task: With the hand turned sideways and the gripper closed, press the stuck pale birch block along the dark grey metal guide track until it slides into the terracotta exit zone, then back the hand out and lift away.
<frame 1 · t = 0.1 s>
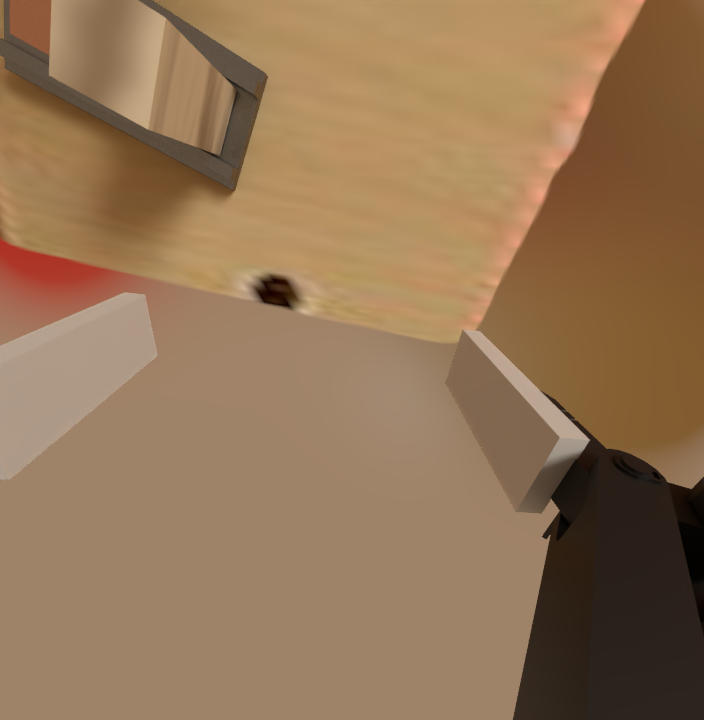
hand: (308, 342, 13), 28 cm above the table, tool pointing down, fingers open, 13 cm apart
guide track: (142, 74, 30), on the table
birch block: (163, 84, 24), point 8 cm above the table, slide at 0.0 cm
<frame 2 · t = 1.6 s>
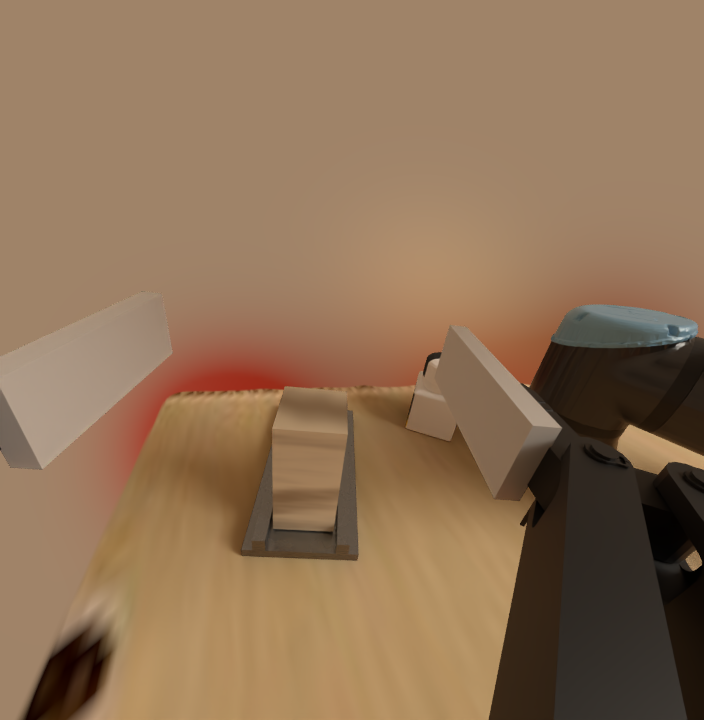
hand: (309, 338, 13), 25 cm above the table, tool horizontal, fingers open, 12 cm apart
medicine bottle: (428, 423, 50), on the table
guide track: (311, 467, 38), on the table
birch block: (309, 460, 30), point 8 cm above the table, slide at 0.0 cm
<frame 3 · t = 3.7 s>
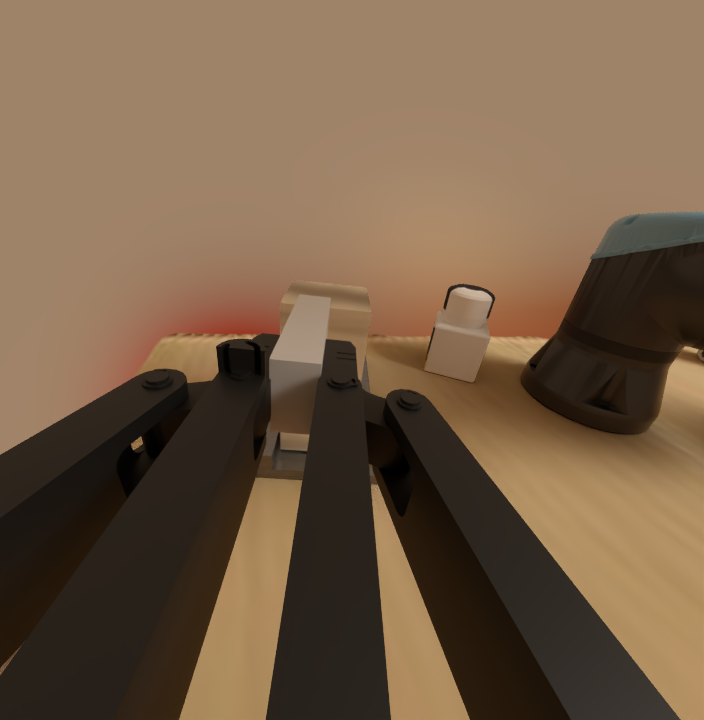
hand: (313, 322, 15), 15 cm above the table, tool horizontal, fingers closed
medicine bottle: (448, 367, 45), on the table
guide track: (321, 400, 34), on the table
birch block: (322, 369, 25), point 8 cm above the table, slide at 0.0 cm
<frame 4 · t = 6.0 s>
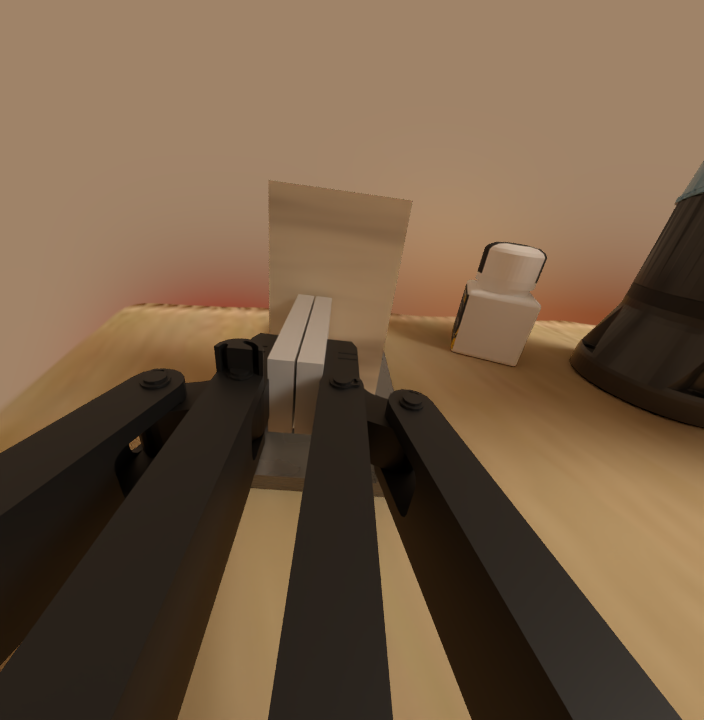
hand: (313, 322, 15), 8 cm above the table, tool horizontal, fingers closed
medicine bottle: (479, 349, 37), on the table
guide track: (325, 381, 26), on the table
birch block: (330, 314, 18), point 8 cm above the table, slide at 1.5 cm, touching gripper
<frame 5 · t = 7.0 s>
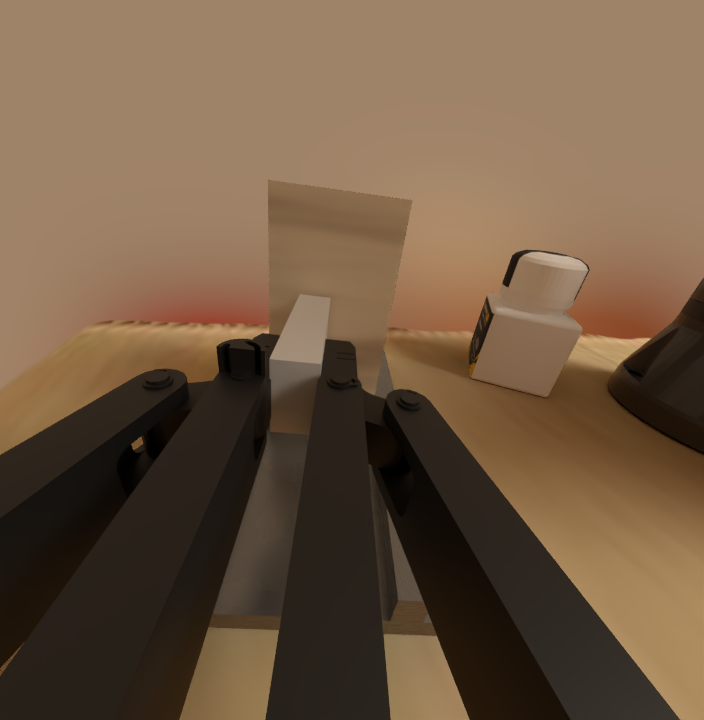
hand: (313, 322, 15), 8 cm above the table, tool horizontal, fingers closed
medicine bottle: (502, 373, 32), on the table
guide track: (319, 426, 21), on the table
birch block: (330, 314, 18), point 8 cm above the table, slide at 7.3 cm, touching gripper
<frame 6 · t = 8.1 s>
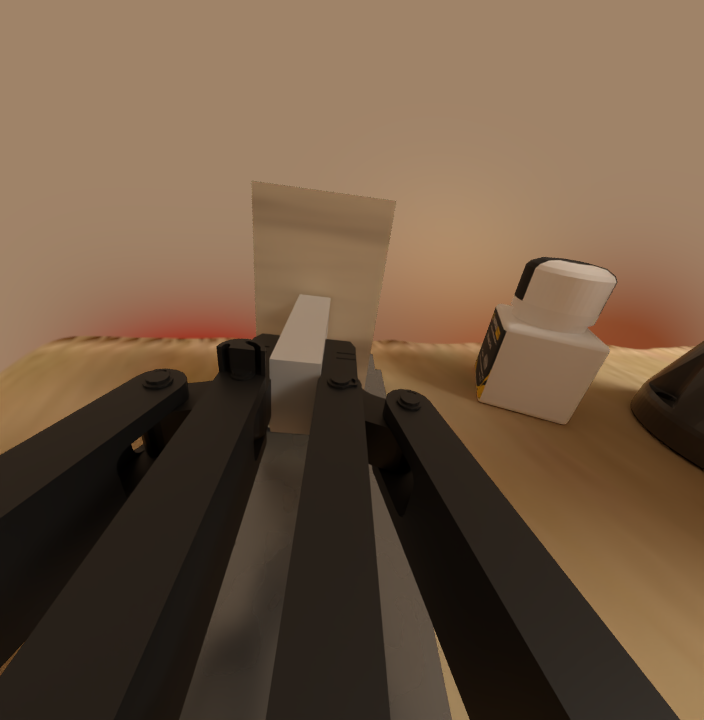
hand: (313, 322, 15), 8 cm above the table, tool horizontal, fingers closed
medicine bottle: (513, 394, 28), on the table
guide track: (303, 472, 17), on the table
birch block: (319, 314, 18), point 8 cm above the table, slide at 11.2 cm, touching gripper
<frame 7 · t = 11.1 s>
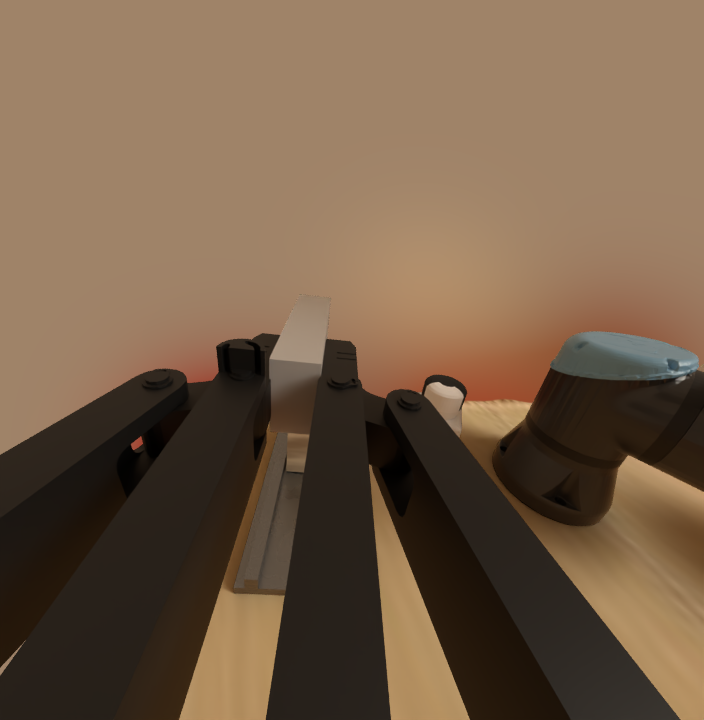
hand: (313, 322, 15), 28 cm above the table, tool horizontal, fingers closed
medicine bottle: (426, 444, 49), on the table
guide track: (306, 494, 38), on the table
birch block: (314, 419, 39), point 8 cm above the table, slide at 11.3 cm
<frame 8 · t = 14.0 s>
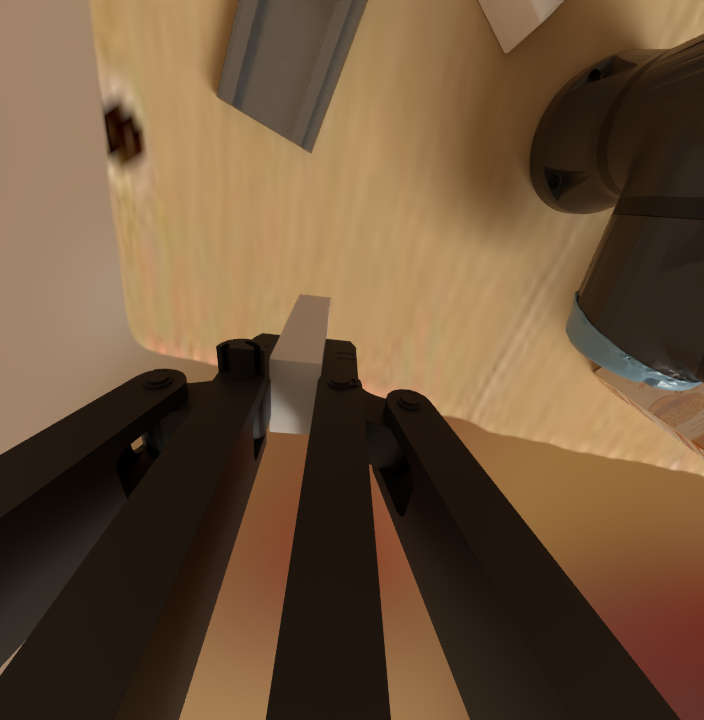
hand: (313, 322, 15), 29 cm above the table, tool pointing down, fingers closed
coffeecake box: (642, 353, 50), on the table
guide track: (304, 5, 30), on the table
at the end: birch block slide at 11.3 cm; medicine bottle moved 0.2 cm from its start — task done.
